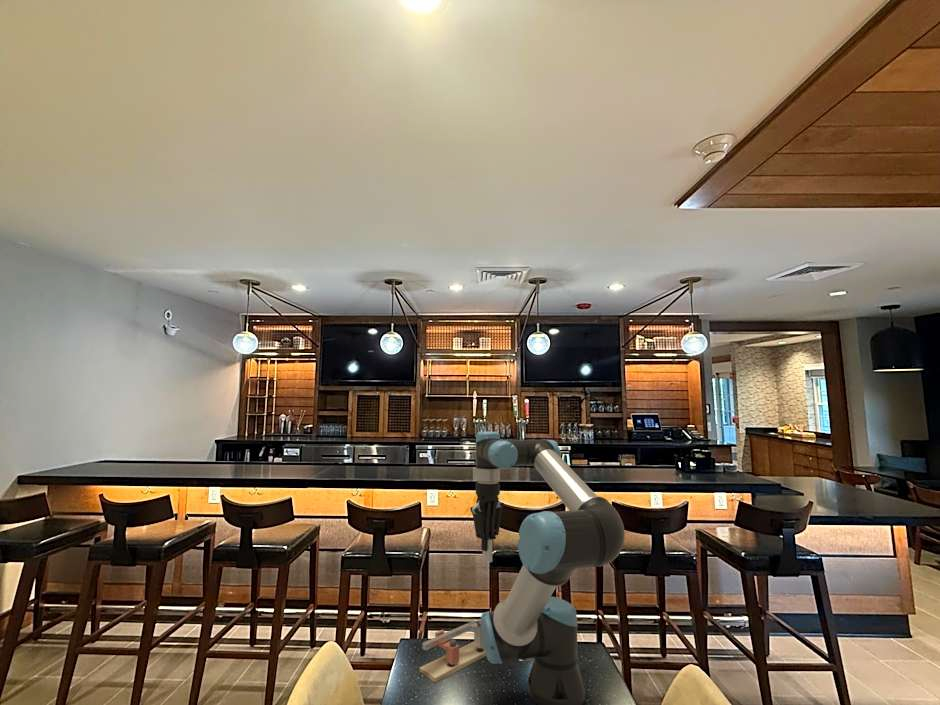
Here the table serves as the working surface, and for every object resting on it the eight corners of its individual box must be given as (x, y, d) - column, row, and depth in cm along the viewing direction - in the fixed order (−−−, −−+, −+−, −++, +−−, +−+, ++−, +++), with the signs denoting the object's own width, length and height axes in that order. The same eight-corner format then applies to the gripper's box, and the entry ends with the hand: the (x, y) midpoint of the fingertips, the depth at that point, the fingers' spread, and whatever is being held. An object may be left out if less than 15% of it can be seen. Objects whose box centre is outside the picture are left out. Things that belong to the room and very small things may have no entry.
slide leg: (458, 662, 133) (459, 639, 134) (452, 666, 131) (452, 642, 132) (441, 652, 139) (442, 629, 139) (435, 655, 137) (435, 632, 138)
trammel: (485, 650, 141) (486, 622, 142) (435, 676, 127) (435, 644, 128) (472, 642, 145) (472, 615, 146) (421, 667, 131) (422, 636, 132)
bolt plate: (490, 653, 141) (490, 649, 141) (435, 682, 126) (435, 678, 126) (474, 645, 146) (474, 641, 146) (419, 671, 131) (419, 667, 131)
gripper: (493, 478, 148) (493, 553, 146) (464, 482, 139) (463, 562, 137) (510, 481, 143) (510, 559, 140) (481, 485, 134) (480, 569, 131)
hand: (487, 561), depth 138 cm, fingers closed
